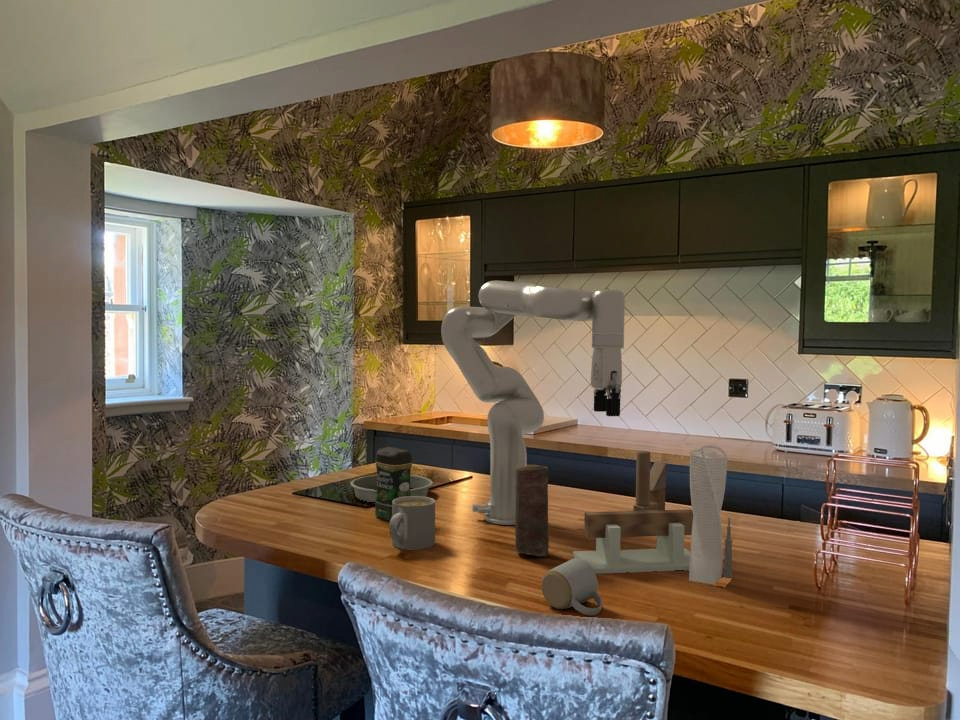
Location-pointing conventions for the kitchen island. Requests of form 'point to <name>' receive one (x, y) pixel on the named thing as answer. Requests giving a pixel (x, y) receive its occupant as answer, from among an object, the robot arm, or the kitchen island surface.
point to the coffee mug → (413, 522)
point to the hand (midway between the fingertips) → (606, 413)
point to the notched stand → (638, 553)
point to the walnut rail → (637, 522)
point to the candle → (532, 510)
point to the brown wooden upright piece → (649, 483)
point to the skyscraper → (708, 517)
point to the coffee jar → (391, 479)
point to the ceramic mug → (572, 586)
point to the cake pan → (369, 483)
